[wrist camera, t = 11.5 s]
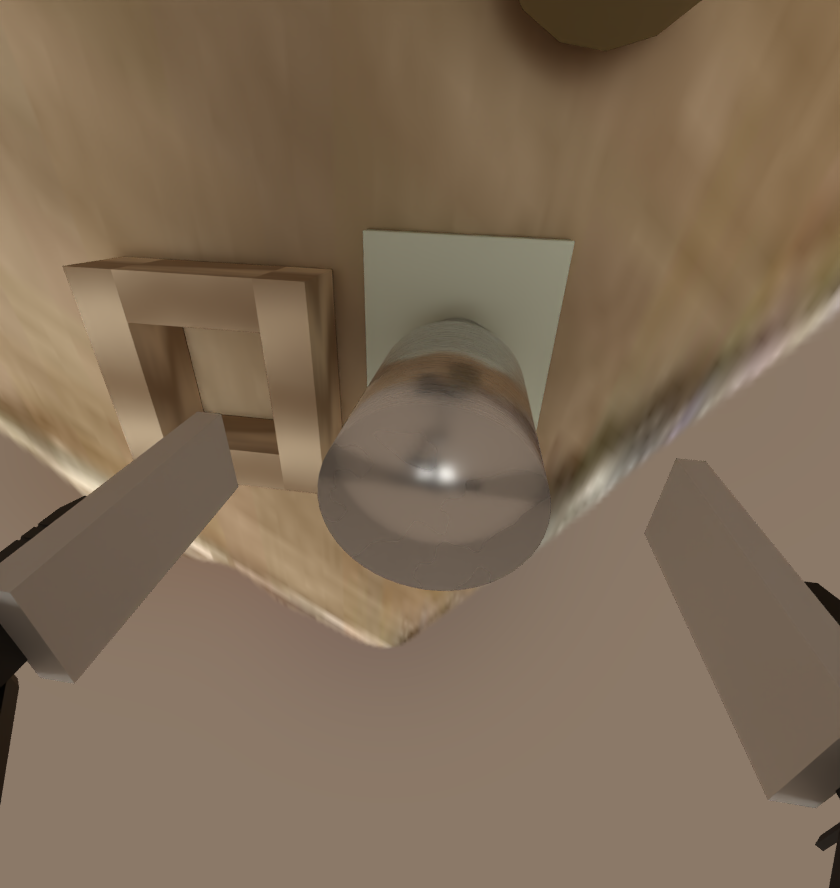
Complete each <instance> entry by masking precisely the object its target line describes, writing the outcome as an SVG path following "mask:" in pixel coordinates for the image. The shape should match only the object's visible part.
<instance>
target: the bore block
mask: <svg viewBox="0 0 840 888" xmlns="http://www.w3.org/2000/svg"><path fill="white" fill-rule="evenodd" d="M63 269H64V272H65V274H66V277H67V280H68V283H69V285H70V288H71V291H72V294H73V296H74V299H75V302H76V304H77V307H78V310H79V313H80V315H81V318H82V321H83V324H84V326H85V329H86V332H87V334H88V337H89V340H90V343H91V345H92V348H93V351H94V354H95V356H96V359H97V362H98V365H99V367H100V370H101V373H102V375H103V378H104V381H105V384H106V386H107V389H108V392H109V395H110V397H111V400H112V403H113V405H114V408H115V411H116V414H117V416H118V419H119V422H120V425H121V427H122V430H123V433H124V435H125V438H126V441H127V444H128V446H129V449H130V452H131V455H132V457H133V460H135V459H136V458H137V457H139V456H140V455H141V454H143V453H144V452H145V451H147V450H148V449H149V448H151V447H152V446H153V445H154V444H156V443H157V442H158V441H160V440H161V439H162V438H164V437H165V436H166V435H167V434H169V433H170V432H171V431H173V430H174V429H175V428H177V427H178V426H179V425H180V424H182V423H183V422H184V421H186V420H187V419H188V418H190V417H191V416H192V415H194V414H195V413H196V412H204V411H203V407H202V403H201V399H200V395H199V391H198V387H197V383H196V379H195V375H194V371H193V367H192V363H191V359H190V355H189V351H188V347H187V343H186V339H185V335H184V331H183V327H191V328H204V329H216V330H229V331H242V332H255V333H260V335H261V341H262V348H263V354H264V361H265V367H266V373H267V380H268V386H269V393H270V399H271V405H272V412H273V418H274V420H270V419H259V418H249V417H239V416H229V415H222V420H223V424H224V428H225V432H226V436H227V441H228V445H229V449H230V453H231V457H232V462H233V466H234V470H235V474H236V478H237V483H238V485H245V486H254V487H263V488H272V489H280V490H289V491H298V492H307V493H315V494H318V488H317V485H318V478H319V472H320V469H321V466H322V462H323V460H324V458H325V456H326V454H327V452H328V450H329V449H330V447H331V446H332V444H333V442H334V441H335V439H336V437H337V436H338V434H339V432H340V431H341V429H342V418H341V402H340V386H339V371H338V355H337V339H336V324H335V308H334V292H333V277H332V269H318V268H302V267H286V266H270V265H253V264H237V263H221V262H205V261H188V260H172V259H156V258H139V257H118V258H112V259H105V260H99V261H92V262H86V263H80V264H73V265H67V266H63Z"/></svg>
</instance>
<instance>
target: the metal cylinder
mask: <svg viewBox="0 0 840 888" xmlns="http://www.w3.org/2000/svg"><path fill="white" fill-rule="evenodd" d="M317 488H318V501H319V507H320V511H321V514H322V516H323V519H324V522H325V524H326V526H327V528H328V530H329V531H330V533H331V534H332V536H333V537H334V539H335V540H336V542H337V543H338V544H339V545H340V546H341V547H342V549H343V550H344V551H345V552H346V553H347V554H349V555H350V556H351V557H352V558H353V559H354V560H355V561H357V562H358V563H359V564H361V565H362V566H363V567H365V568H367V569H368V570H370V571H372V572H373V573H375V574H377V575H379V576H381V577H383V578H385V579H388V580H391V581H393V582H396V583H399V584H402V585H406V586H410V587H414V588H420V589H425V590H437V591H452V590H462V589H469V588H474V587H478V586H482V585H485V584H488V583H491V582H493V581H496V580H498V579H500V578H503V577H504V576H506V575H508V574H509V573H511V572H513V571H514V570H516V569H517V568H518V567H520V566H521V565H522V564H523V563H524V562H525V561H526V560H527V559H528V558H530V557H531V556H532V554H533V553H534V552H535V550H536V549H537V548H538V546H539V545H540V543H541V541H542V539H543V537H544V535H545V533H546V530H547V527H548V524H549V519H550V513H551V498H550V492H549V487H548V482H547V478H546V473H545V469H544V465H543V460H542V456H541V451H540V447H539V443H538V438H537V434H536V429H535V425H534V421H533V416H532V412H531V408H530V403H529V399H528V394H527V390H526V386H525V381H524V377H523V373H522V370H521V367H520V365H519V363H518V361H517V359H516V357H515V355H514V354H513V353H512V351H511V350H510V348H509V347H508V346H507V345H506V344H505V343H504V342H503V341H502V340H500V339H499V338H498V337H497V336H495V335H494V334H492V333H491V332H489V331H487V330H486V329H485V328H483V327H482V326H481V325H479V324H478V323H476V322H474V321H472V320H469V319H465V318H447V319H444V320H441V321H439V322H435V323H431V324H428V325H424V326H422V327H419V328H417V329H415V330H413V331H411V332H410V333H408V334H406V335H405V336H404V337H403V338H401V339H400V340H399V341H398V342H397V343H396V344H395V345H394V346H393V347H392V349H391V350H390V351H389V353H388V354H387V356H386V357H385V359H384V361H383V362H382V364H381V366H380V367H379V369H378V371H377V372H376V374H375V375H374V377H373V379H372V380H371V382H370V384H369V385H368V387H367V388H366V390H365V392H364V393H363V395H362V397H361V398H360V400H359V401H358V403H357V405H356V406H355V408H354V410H353V411H352V413H351V415H350V416H349V418H348V419H347V421H346V423H345V424H344V426H343V428H342V429H341V431H340V432H339V434H338V436H337V437H336V439H335V441H334V442H333V444H332V446H331V447H330V449H329V450H328V452H327V454H326V456H325V458H324V460H323V462H322V466H321V469H320V472H319V478H318V485H317Z"/></svg>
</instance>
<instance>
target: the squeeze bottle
mask: <svg viewBox="0 0 840 888" xmlns="http://www.w3.org/2000/svg"><path fill="white" fill-rule="evenodd" d="M700 1H701V0H519V2H520V4H521V7H522V9H523V10H524V11H525V12H526V13H527V14H529V15H530V16H531V17H532V18H533V19H534V20H535V21H536V22H538V23H539V24H540V25H541V26H542V27H543V28H544V29H545V30H547V31H548V32H549V33H550V34H551V35H552V36H553V37H554V38H556V39H557V40H558V41H559V42H562V43H567V44H572V45H577V46H582V47H587V48H592V49H597V50H602V51H608V50H611V49H614V48H618V47H621V46H624V45H627V44H631V43H634V42H637V41H641V40H644V39H647V38H650V37H654V36H657V35H658V34H659V33H661V32H662V31H663V30H664V29H666V28H667V27H668V26H669V25H671V24H672V23H673V22H674V21H676V20H677V19H678V18H680V17H681V16H682V15H683V14H685V13H686V12H687V11H688V10H690V9H691V8H692V7H693V6H695V5H696V4H697V3H699V2H700Z"/></svg>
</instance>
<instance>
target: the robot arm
mask: <svg viewBox="0 0 840 888" xmlns="http://www.w3.org/2000/svg"><path fill="white" fill-rule="evenodd" d="M237 488H238V483H237V478H236V474H235V470H234V466H233V462H232V457H231V453H230V449H229V445H228V441H227V436H226V432H225V428H224V424H223V420H222V415H221V414H217V413H207V412H196V413H195V414H194V415H192V416H191V417H190V418H188V419H187V420H186V421H184V422H183V423H182V424H180V425H179V426H178V427H177V428H175V429H174V430H173V431H171V432H170V433H169V434H167V435H166V436H165V437H164V438H162V439H161V440H160V441H158V442H157V443H156V444H154V445H153V446H152V447H151V448H149V449H148V450H147V451H145V452H144V453H143V454H141V455H140V456H139V457H137V458H136V459H135V460H134V461H132V462H131V463H130V464H128V465H127V466H126V467H124V468H123V469H122V470H121V471H119V472H118V473H117V474H115V475H114V476H113V477H111V478H110V479H109V480H108V481H106V482H105V483H104V484H102V485H101V486H100V487H98V488H97V489H96V490H94V491H93V492H92V493H91V494H89V495H88V496H83V497H81V498H79V499H77V500H75V501H73V502H71V503H69V504H67V505H65V506H63V507H60V508H59V509H57V510H56V511H55V512H53V513H52V514H51V515H49V516H48V517H47V518H45V519H44V520H43V521H41V522H40V523H39V524H38V527H33V528H32V529H31V530H29V531H28V532H27V533H25V534H24V535H22V536H21V539H20V540H16V541H14V542H13V543H12V544H10V545H9V546H8V547H6V548H5V549H4V550H2V551H1V552H0V803H1V796H2V790H3V784H4V777H5V771H6V764H7V759H8V753H9V746H10V739H11V734H12V728H13V721H14V715H15V709H16V703H17V696H18V690H19V685H18V678H17V677H16V676H15V675H14V673H15V672H16V671H17V670H18V669H19V668H20V667H21V666H22V665H23V664H24V663H25V662H26V661H28V663H29V664H30V665H31V666H32V668H33V669H34V670H35V672H36V673H37V674H38V675H39V677H40V678H45V679H51V680H57V681H62V682H68V683H75V682H76V681H77V680H78V679H79V677H80V676H81V675H82V674H83V673H84V672H85V670H86V669H87V668H88V667H89V666H90V664H91V663H92V662H93V661H94V660H95V658H96V657H97V656H98V655H99V654H100V652H101V651H102V650H103V649H104V647H105V646H106V645H107V644H108V643H109V641H110V640H111V639H112V638H113V637H114V636H115V634H116V633H117V632H118V631H119V630H120V628H121V627H122V626H123V625H124V624H125V622H126V621H127V620H128V619H129V618H130V616H131V615H132V614H133V613H134V612H135V610H136V609H137V608H138V606H140V604H141V603H142V602H143V601H144V600H145V598H146V597H147V596H148V595H149V594H150V592H151V591H152V590H153V589H154V588H155V586H156V585H157V584H158V583H159V582H160V580H161V579H162V578H163V577H164V575H165V574H166V573H167V572H168V570H170V568H171V567H172V566H173V565H174V564H175V562H176V561H177V560H178V559H179V558H180V556H181V555H182V554H183V553H184V552H185V550H186V549H187V548H188V547H189V546H190V544H191V543H192V542H193V541H194V540H195V538H196V537H197V536H198V535H199V534H200V532H201V531H202V530H203V529H204V528H205V526H206V525H207V524H208V523H209V522H210V520H211V519H212V518H213V517H214V516H215V514H216V513H217V512H218V511H219V510H220V508H221V507H222V506H223V505H224V504H225V502H226V501H227V500H228V499H229V498H230V496H231V495H232V494H233V493H234V492H235V490H236V489H237ZM645 536H646V538H647V540H648V542H649V544H650V547H651V549H652V551H653V553H654V555H655V557H656V560H657V562H658V564H659V566H660V568H661V570H662V572H663V575H664V577H665V579H666V581H667V583H668V585H669V587H670V589H671V592H672V594H673V596H674V598H675V600H676V603H677V605H678V607H679V609H680V611H681V613H682V616H683V617H684V620H685V622H686V624H687V626H688V629H689V630H690V633H691V635H692V637H693V639H694V642H695V644H696V646H697V648H698V650H699V652H700V655H701V657H702V659H703V661H704V663H705V665H706V667H707V670H708V672H709V674H710V676H711V678H712V680H713V683H714V685H715V687H716V689H717V691H718V693H719V695H720V697H721V700H722V702H723V704H724V706H725V708H726V711H727V713H728V715H729V717H730V719H731V721H732V724H733V726H734V728H735V730H736V732H737V734H738V737H739V739H740V741H741V743H742V745H743V747H744V749H745V751H746V754H747V756H748V758H749V760H750V762H751V765H752V767H753V769H754V771H755V773H756V775H757V778H758V780H759V782H760V784H761V786H762V788H763V790H764V793H765V795H766V797H767V799H768V800H770V801H776V802H782V803H788V804H794V805H800V806H806V807H812V808H816V807H818V806H819V805H821V804H822V803H823V802H825V801H826V800H827V799H829V798H830V797H831V796H833V795H834V794H835V793H837V795H838V797H839V798H840V600H839V599H838V598H836V597H835V596H834V595H832V594H831V593H830V592H828V591H827V590H826V589H824V588H823V587H822V586H820V585H819V584H818V583H812V582H804V581H803V580H801V578H800V577H799V575H798V574H797V573H796V572H795V570H794V569H793V568H792V567H791V565H790V564H789V563H788V562H787V560H786V559H785V558H784V557H783V556H782V554H781V553H780V552H779V551H778V549H777V548H776V547H775V546H774V544H773V543H772V542H771V541H770V540H769V538H768V537H767V536H766V535H765V533H764V532H763V531H762V530H761V529H760V527H759V526H758V525H757V524H756V522H755V521H754V520H753V519H752V518H751V516H750V515H749V514H748V513H747V512H746V510H745V509H744V508H743V506H742V505H741V504H740V503H739V501H738V500H737V499H736V498H735V497H734V495H733V494H732V493H731V492H730V490H729V489H728V488H727V487H726V486H725V484H724V483H723V482H722V481H721V479H720V478H719V477H718V476H717V474H716V473H715V472H714V471H713V470H712V468H711V467H710V466H709V465H708V463H707V462H706V461H697V460H687V459H677V458H676V460H675V463H674V465H673V467H672V470H671V472H670V474H669V477H668V479H667V482H666V484H665V486H664V488H663V491H662V493H661V495H660V498H659V500H658V502H657V505H656V507H655V509H654V512H653V514H652V517H651V519H650V521H649V524H648V526H647V528H646V531H645ZM835 843H837V846H836V851H835V857H834V863H833V868H832V874H831V879H830V885H829V888H840V823H838V824H837V825H835V826H834V827H832V828H831V829H829V830H828V831H826V832H825V833H823V834H822V835H821V836H820V837H819V839H818V841H817V842H816V844H815V845H816V846H817V847H819V848H820V849H821V850H822V851H824V850H826V849H827V848H829V847H830V846H832V845H833V844H835Z"/></svg>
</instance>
